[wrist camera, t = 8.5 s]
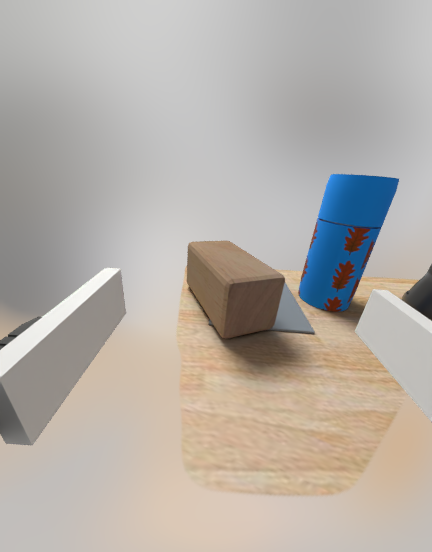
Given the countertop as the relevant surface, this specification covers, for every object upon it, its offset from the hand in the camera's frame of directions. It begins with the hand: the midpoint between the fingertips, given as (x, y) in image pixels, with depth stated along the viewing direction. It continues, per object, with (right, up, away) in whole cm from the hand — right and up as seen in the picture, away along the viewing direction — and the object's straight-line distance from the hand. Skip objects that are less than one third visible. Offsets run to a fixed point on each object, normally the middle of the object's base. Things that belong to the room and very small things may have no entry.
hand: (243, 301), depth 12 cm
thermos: (+23, -4, +37) cm, 44 cm away
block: (+4, -4, +20) cm, 21 cm away
